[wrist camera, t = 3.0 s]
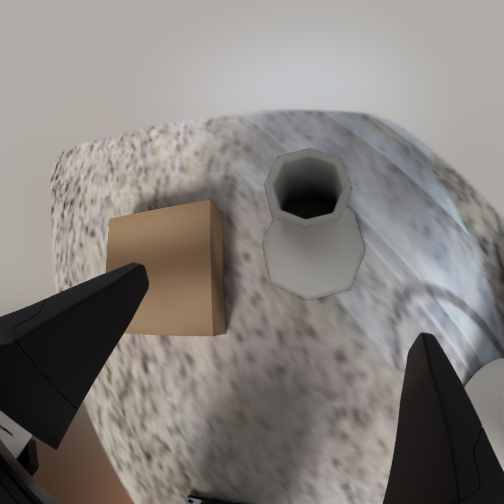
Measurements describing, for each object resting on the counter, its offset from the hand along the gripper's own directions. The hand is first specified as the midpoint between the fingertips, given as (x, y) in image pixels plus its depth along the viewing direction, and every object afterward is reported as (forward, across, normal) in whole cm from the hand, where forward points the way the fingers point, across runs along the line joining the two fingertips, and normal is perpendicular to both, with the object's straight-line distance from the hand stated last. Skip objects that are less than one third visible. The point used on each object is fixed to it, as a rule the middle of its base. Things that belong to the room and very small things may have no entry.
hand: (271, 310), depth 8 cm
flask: (+11, 0, +5) cm, 12 cm away
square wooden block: (+8, +10, +8) cm, 15 cm away
